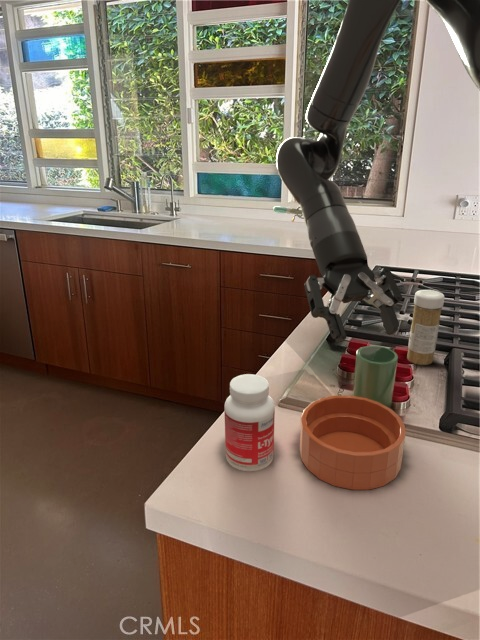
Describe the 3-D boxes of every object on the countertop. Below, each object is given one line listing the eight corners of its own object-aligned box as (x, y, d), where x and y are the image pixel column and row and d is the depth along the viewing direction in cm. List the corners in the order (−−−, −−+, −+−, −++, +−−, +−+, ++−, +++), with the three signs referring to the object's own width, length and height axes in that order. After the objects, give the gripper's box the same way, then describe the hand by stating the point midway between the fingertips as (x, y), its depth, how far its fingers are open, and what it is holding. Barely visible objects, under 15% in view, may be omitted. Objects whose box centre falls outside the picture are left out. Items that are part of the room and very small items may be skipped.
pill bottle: (263, 480, 55) (264, 401, 51) (217, 467, 58) (214, 390, 53) (280, 449, 61) (282, 375, 56) (237, 438, 63) (236, 366, 59)
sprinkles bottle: (409, 357, 84) (419, 287, 79) (435, 363, 82) (447, 291, 77) (401, 367, 81) (411, 294, 76) (428, 374, 78) (441, 299, 73)
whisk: (341, 233, 200) (343, 220, 195) (269, 225, 207) (269, 212, 202) (344, 220, 207) (346, 207, 202) (274, 212, 214) (274, 199, 209)
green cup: (377, 395, 73) (383, 342, 69) (398, 414, 68) (406, 359, 64) (344, 401, 71) (349, 348, 68) (364, 422, 66) (370, 366, 63)
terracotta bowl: (365, 422, 66) (369, 388, 64) (421, 480, 55) (428, 442, 53) (285, 439, 63) (286, 404, 61) (327, 504, 52) (330, 465, 50)
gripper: (301, 232, 68) (334, 334, 62) (385, 225, 72) (423, 320, 66) (287, 258, 75) (315, 352, 69) (364, 251, 79) (397, 339, 73)
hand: (368, 336), depth 68 cm, fingers open, 8 cm apart
